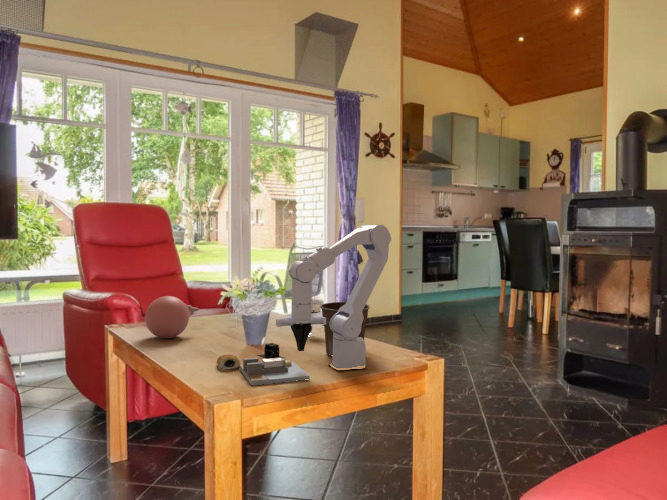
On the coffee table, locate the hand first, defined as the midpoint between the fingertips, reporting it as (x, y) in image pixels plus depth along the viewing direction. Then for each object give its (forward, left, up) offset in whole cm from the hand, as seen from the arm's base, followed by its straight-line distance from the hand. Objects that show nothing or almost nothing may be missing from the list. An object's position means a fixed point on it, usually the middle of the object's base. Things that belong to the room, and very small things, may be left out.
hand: (300, 350), depth 151 cm
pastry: (+19, -13, -7) cm, 24 cm away
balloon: (+31, -58, -7) cm, 66 cm away
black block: (+3, -20, -7) cm, 21 cm away
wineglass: (-19, -47, -7) cm, 51 cm away
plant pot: (-20, -16, -7) cm, 27 cm away
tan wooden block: (+8, 0, -5) cm, 9 cm away
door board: (+8, 0, -6) cm, 10 cm away
